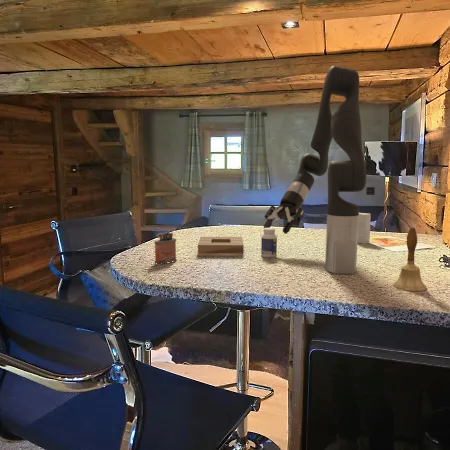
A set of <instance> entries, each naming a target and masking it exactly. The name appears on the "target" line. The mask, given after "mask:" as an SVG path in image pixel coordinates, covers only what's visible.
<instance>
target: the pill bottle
mask: <svg viewBox="0 0 450 450" xmlns="http://www.w3.org/2000/svg"><path fill="white" fill-rule="evenodd" d="M275 232H276V229H275V228H274V227H270V228H264V227H263V234H262V235H261V240H260V241H261V244H260V245H261V249H260V250H261V255H260V256H262V257H263V258H264V257H265V258H275V257H276V256H277V251H278V249H277V248H278V246H277V245H278V243H277V242H278V236H277V235H276V233H275Z"/></svg>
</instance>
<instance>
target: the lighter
mask: <svg viewBox="0 0 450 450" xmlns="http://www.w3.org/2000/svg"><path fill="white" fill-rule="evenodd" d="M173 236H174V233H173V232H167V231H164V232H162V233H157V234H156V238H157V240H154V243H153V244H154V253H155V254H154V255H155V256H154V259H155V260H154V264H155V263H157V264H161V263H167V262H172V261H175V262H177V253H176V251H177V250H176V249H177V247H176V246H177V245H176V242H177V238H173ZM172 263H173V262H172ZM167 264H168V263H167ZM161 265H162V264H161Z"/></svg>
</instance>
